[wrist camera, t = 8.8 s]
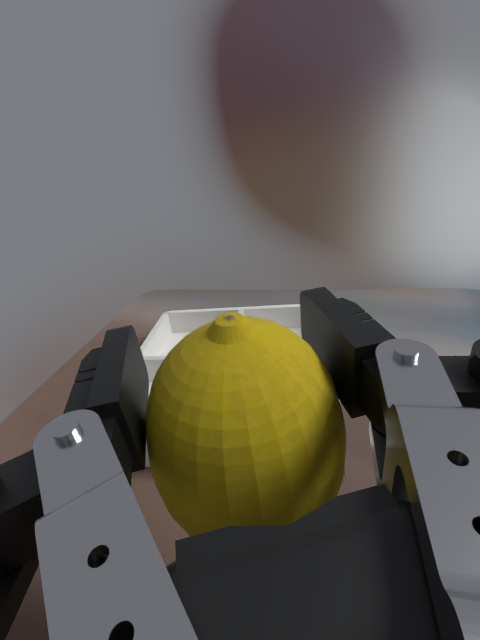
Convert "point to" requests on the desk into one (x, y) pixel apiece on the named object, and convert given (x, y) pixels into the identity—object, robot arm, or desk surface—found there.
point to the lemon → (244, 427)
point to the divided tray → (185, 321)
